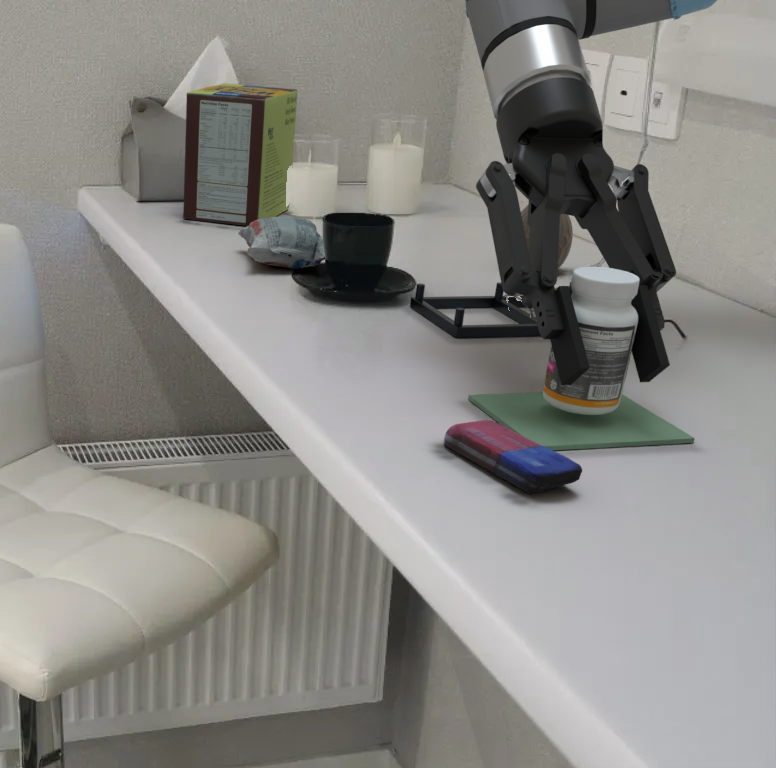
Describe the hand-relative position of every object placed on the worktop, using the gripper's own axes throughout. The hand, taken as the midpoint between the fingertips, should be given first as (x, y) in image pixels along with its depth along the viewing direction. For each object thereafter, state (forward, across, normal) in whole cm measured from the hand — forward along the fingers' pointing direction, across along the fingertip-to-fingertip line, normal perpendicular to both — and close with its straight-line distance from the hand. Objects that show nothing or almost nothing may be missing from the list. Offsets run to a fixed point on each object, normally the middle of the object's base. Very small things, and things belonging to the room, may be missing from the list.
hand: (615, 374), depth 84 cm
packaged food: (-35, +8, -42) cm, 55 cm away
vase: (-32, -22, -39) cm, 55 cm away
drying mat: (+1, 0, -6) cm, 6 cm away
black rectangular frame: (-18, -9, -25) cm, 32 cm away
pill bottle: (0, 0, -5) cm, 5 cm away
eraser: (+7, +10, 0) cm, 12 cm away
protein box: (-55, +5, -62) cm, 83 cm away
